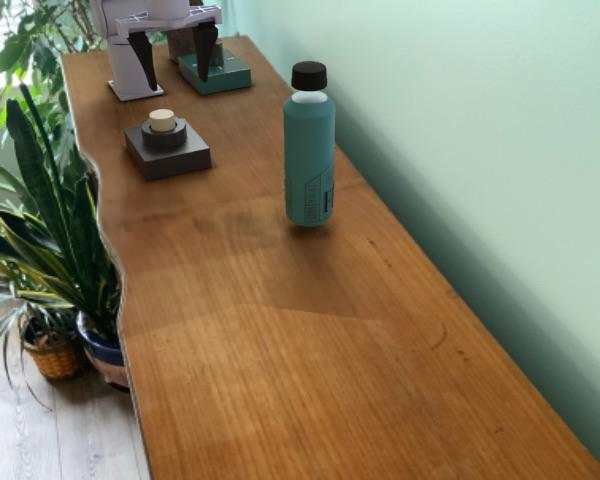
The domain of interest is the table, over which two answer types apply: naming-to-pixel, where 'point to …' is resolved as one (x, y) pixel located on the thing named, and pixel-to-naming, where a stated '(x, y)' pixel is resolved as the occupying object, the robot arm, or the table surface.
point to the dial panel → (216, 73)
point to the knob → (217, 54)
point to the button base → (167, 149)
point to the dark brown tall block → (181, 39)
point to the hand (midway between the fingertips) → (178, 84)
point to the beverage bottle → (309, 147)
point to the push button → (162, 120)
